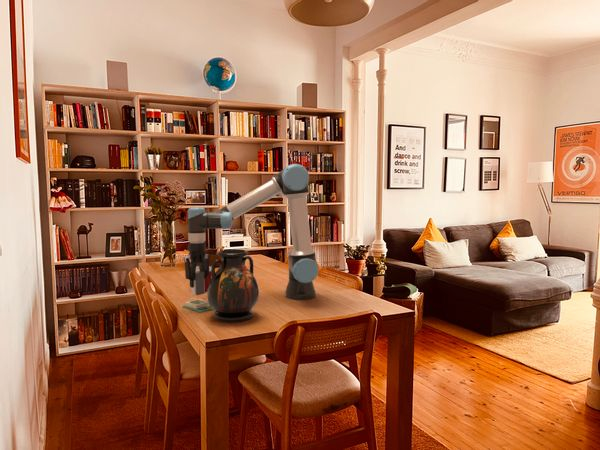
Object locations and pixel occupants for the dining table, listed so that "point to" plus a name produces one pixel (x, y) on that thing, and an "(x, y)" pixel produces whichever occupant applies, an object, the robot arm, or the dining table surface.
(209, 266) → the plastic cup
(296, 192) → the robot arm
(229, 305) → the amphora vase
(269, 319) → the dining table surface
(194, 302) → the board
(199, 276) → the dark grey rectangular block
